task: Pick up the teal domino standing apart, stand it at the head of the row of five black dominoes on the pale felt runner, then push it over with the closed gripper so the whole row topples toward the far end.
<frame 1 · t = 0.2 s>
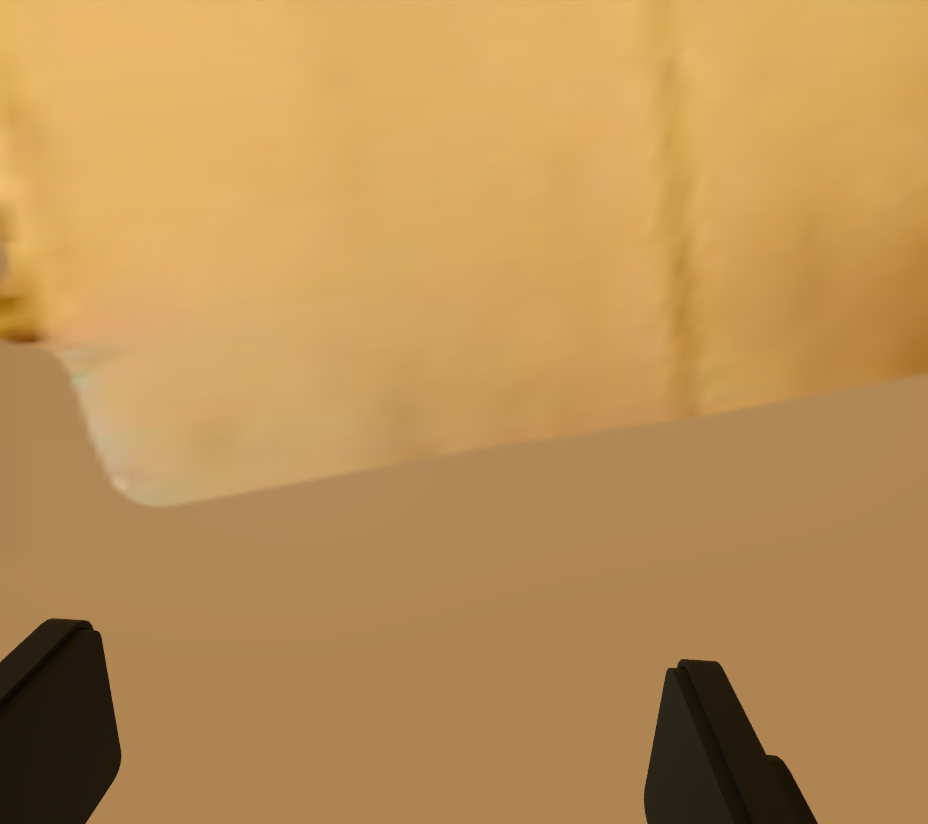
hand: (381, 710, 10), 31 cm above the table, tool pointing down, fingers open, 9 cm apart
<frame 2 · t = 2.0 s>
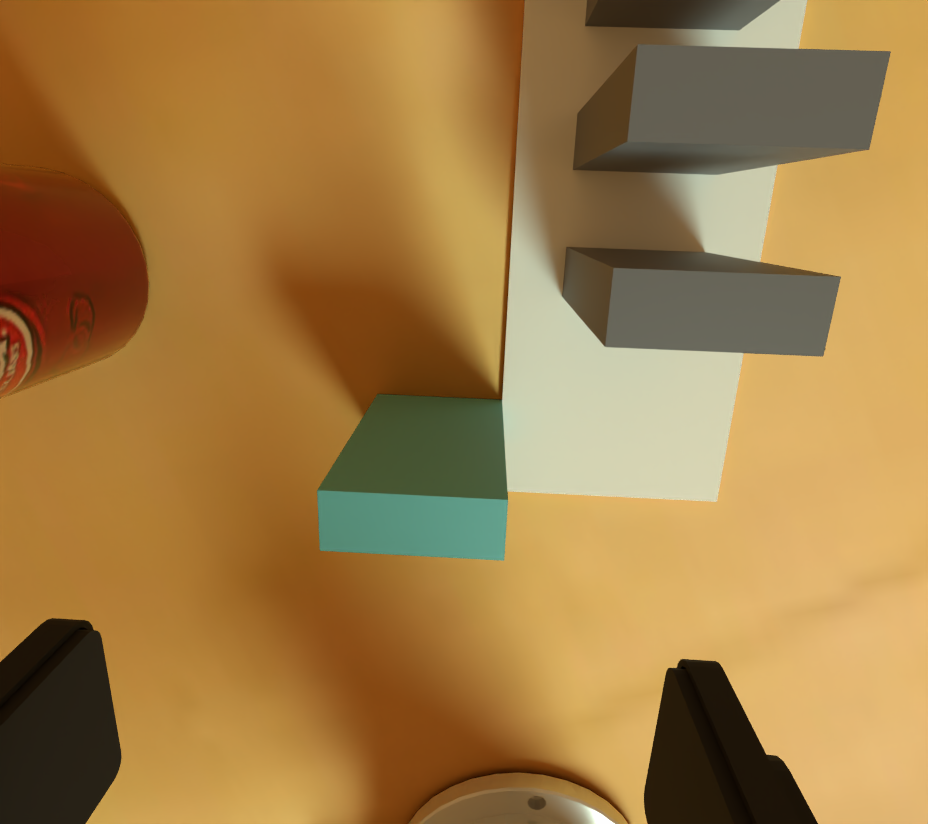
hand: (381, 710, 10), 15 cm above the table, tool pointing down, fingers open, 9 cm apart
domino 1: (632, 274, 22), resting on runner
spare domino: (439, 418, 25), on the table
soda can: (67, 269, 24), on the table
domino 2: (647, 144, 21), resting on runner
runner: (652, 92, 21), on the table
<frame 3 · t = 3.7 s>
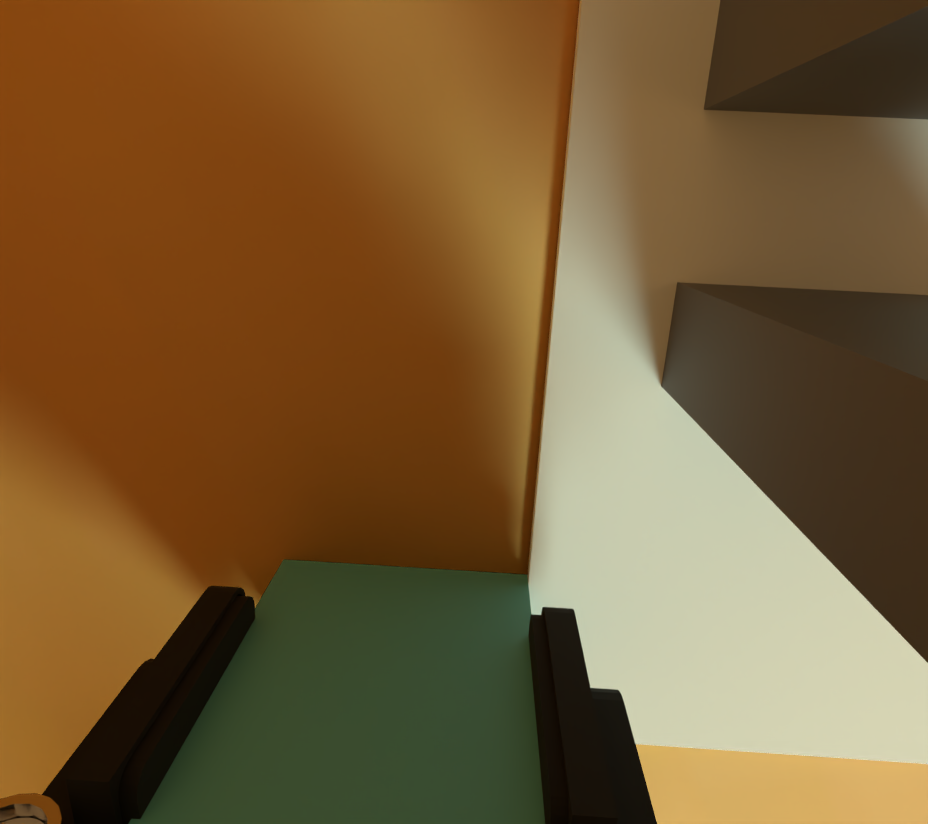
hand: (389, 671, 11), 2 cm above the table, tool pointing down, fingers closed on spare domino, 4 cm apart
domino 1: (816, 343, 10), resting on runner
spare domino: (404, 604, 13), on the table, touching gripper, runner
domino 2: (884, 49, 9), resting on runner
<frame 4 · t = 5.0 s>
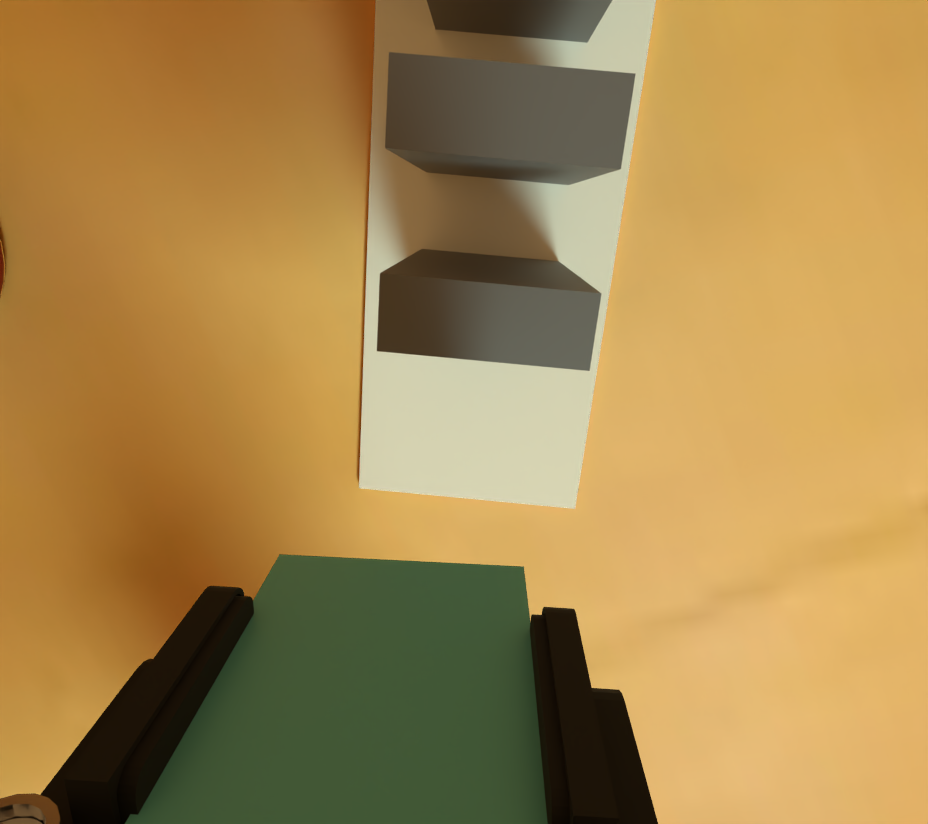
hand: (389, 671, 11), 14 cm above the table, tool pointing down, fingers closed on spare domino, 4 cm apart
domino 1: (487, 280, 23), resting on runner
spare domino: (401, 597, 13), point 12 cm above the table, touching gripper
domino 3: (514, 4, 20), resting on runner
domino 2: (500, 151, 21), resting on runner
runner: (505, 99, 21), on the table
when the fingers open (3 cm above the table, at t = 6.7 s): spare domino stays where it is, resting on runner.
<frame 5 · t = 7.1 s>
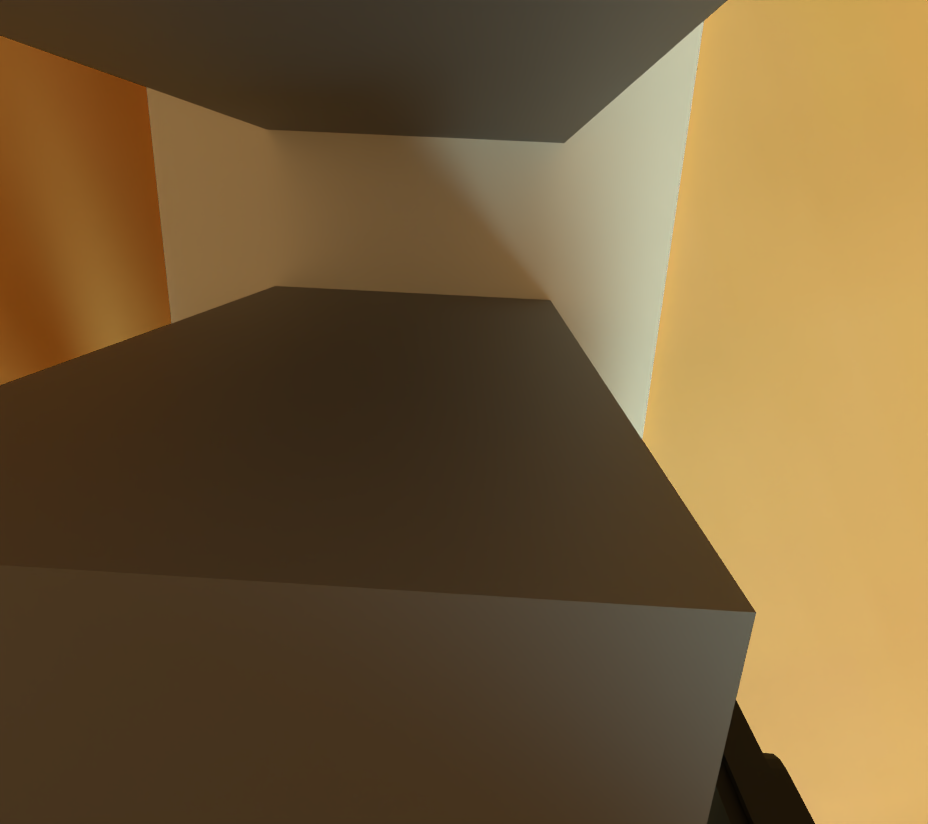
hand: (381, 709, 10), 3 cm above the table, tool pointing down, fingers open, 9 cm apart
domino 1: (411, 341, 11), resting on runner
domino 2: (415, 76, 10), resting on runner
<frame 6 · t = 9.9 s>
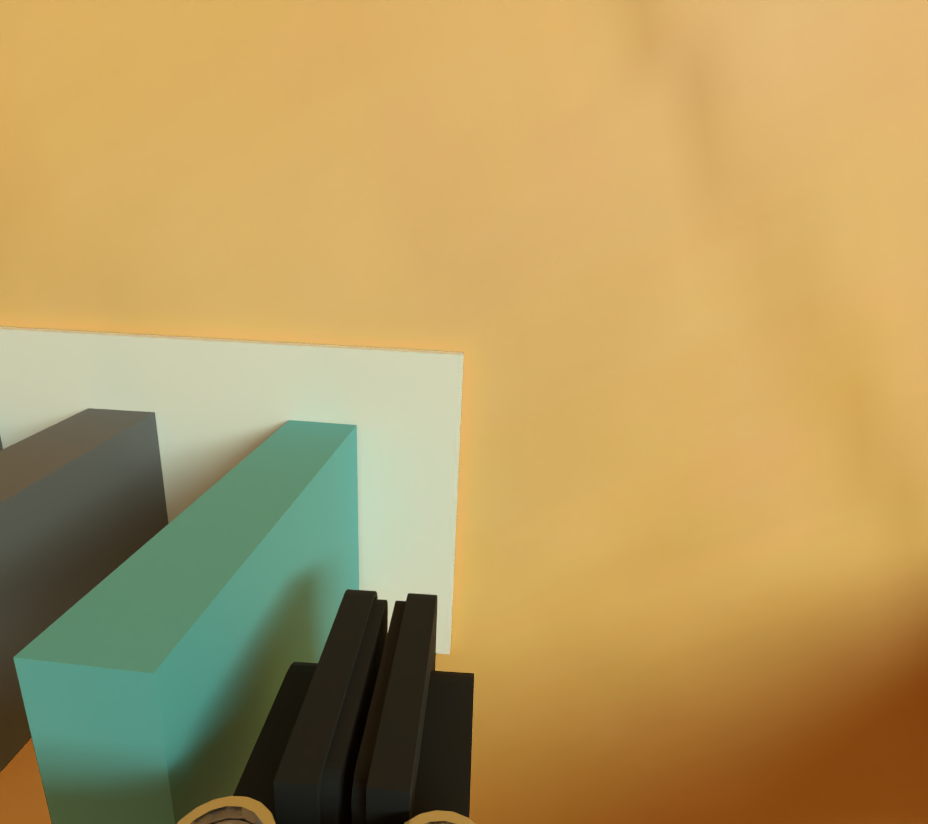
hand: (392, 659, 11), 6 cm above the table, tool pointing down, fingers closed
domino 1: (133, 495, 17), resting on runner
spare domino: (325, 509, 17), resting on runner, touching gripper
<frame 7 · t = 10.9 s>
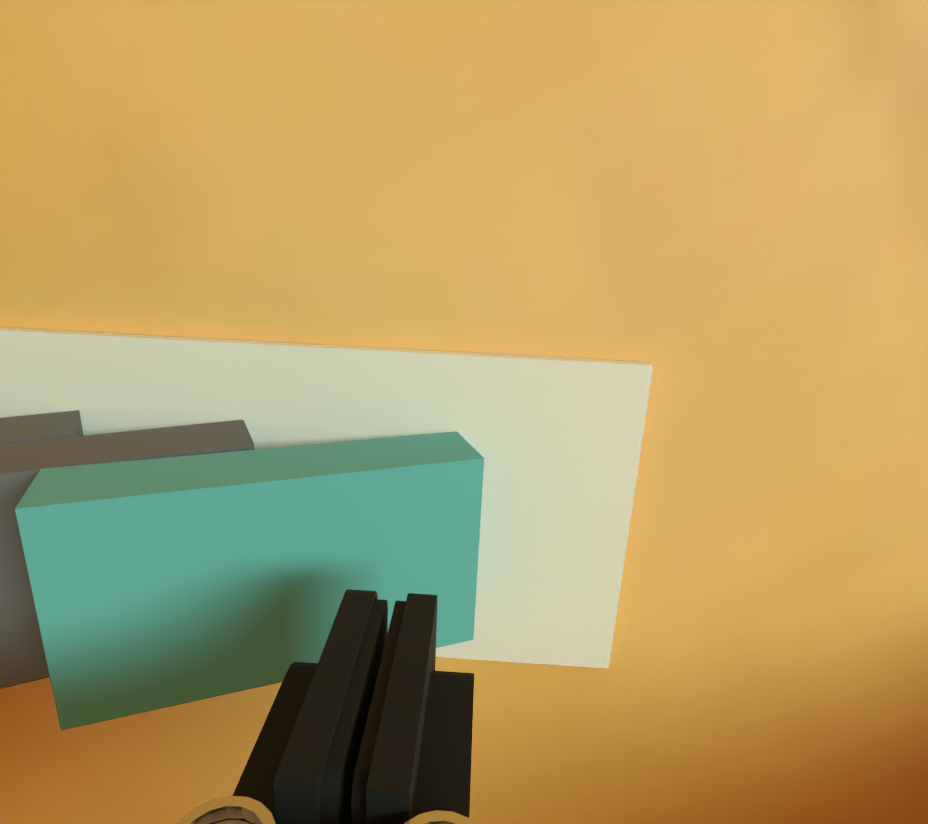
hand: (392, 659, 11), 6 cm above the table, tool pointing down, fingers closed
domino 1: (254, 522, 16), point 1 cm above the table, tilted 61°, touching runner
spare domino: (465, 535, 16), point 1 cm above the table, tilted 67°
domino 2: (92, 511, 16), point 1 cm above the table, tilted 59°, touching runner
runner: (80, 491, 17), on the table
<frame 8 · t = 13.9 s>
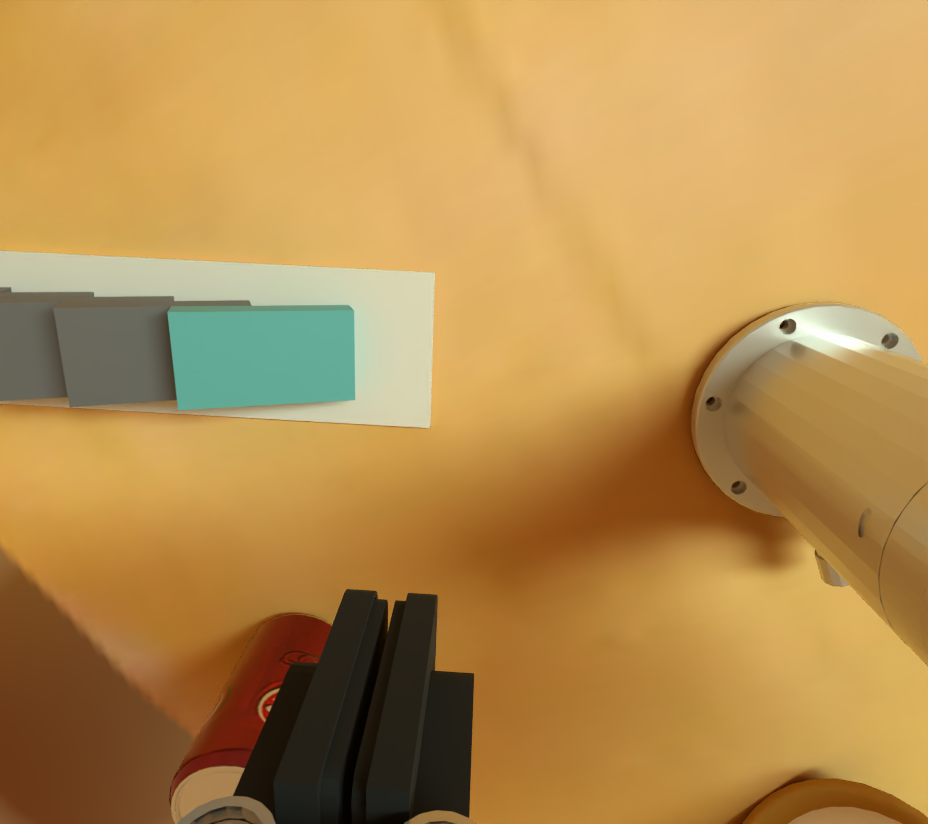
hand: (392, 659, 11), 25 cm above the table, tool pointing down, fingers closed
domino 1: (253, 347, 34), point 1 cm above the table, tilted 65°, touching domino 2, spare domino
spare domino: (352, 352, 34), point 1 cm above the table, tilted 69°, touching domino 1, runner
domino 3: (97, 338, 34), point 1 cm above the table, tilted 66°, touching domino 2, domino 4, runner
soda can: (304, 651, 42), on the table
domino 2: (177, 343, 34), point 1 cm above the table, tilted 66°, touching domino 1, domino 3, runner
runner: (173, 338, 35), on the table
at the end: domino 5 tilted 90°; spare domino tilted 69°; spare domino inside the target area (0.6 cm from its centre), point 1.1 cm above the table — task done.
